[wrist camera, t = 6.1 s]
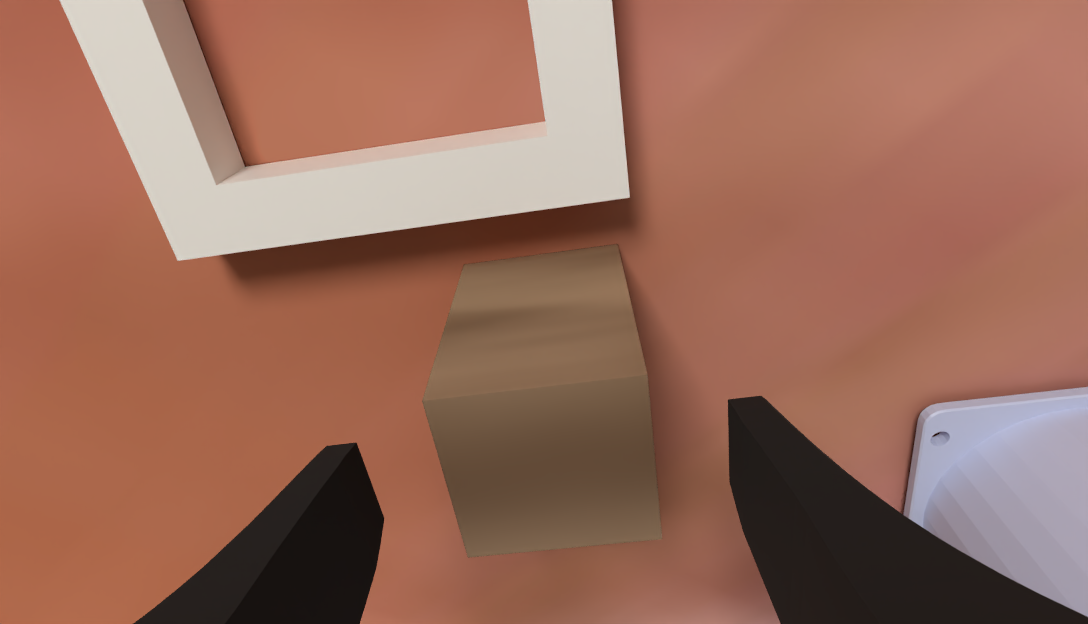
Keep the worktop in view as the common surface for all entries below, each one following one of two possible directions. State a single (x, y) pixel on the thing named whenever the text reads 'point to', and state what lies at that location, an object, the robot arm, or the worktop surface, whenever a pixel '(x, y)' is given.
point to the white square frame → (360, 175)
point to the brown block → (545, 406)
